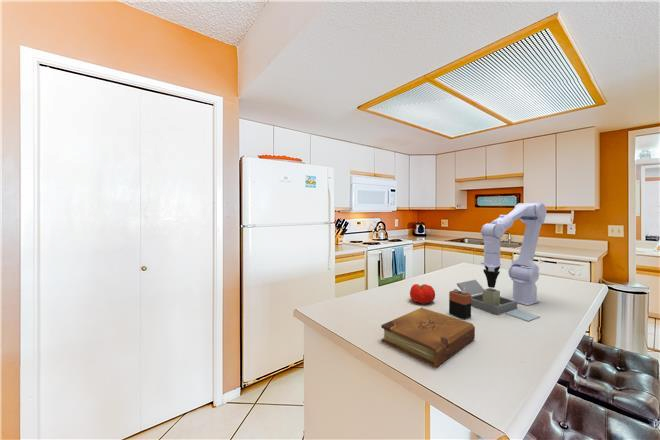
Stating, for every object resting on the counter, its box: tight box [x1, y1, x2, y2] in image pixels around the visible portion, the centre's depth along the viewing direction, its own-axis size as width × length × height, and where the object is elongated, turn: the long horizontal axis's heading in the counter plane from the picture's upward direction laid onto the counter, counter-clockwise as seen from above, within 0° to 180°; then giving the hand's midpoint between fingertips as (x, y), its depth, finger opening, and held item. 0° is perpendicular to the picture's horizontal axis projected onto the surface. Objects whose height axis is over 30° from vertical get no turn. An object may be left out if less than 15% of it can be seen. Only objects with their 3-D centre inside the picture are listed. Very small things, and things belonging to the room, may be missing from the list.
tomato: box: [409, 283, 436, 305], centre depth 118 cm, size 11×11×8 cm
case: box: [456, 279, 518, 316], centre depth 114 cm, size 14×18×8 cm
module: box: [482, 287, 501, 306], centre depth 111 cm, size 4×4×8 cm
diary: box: [381, 307, 476, 368], centre depth 83 cm, size 23×19×6 cm
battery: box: [448, 288, 472, 320], centre depth 102 cm, size 4×7×10 cm, turn 28°
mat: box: [505, 308, 541, 322], centre depth 102 cm, size 8×8×1 cm
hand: (491, 285), depth 109 cm, fingers open, 7 cm apart
